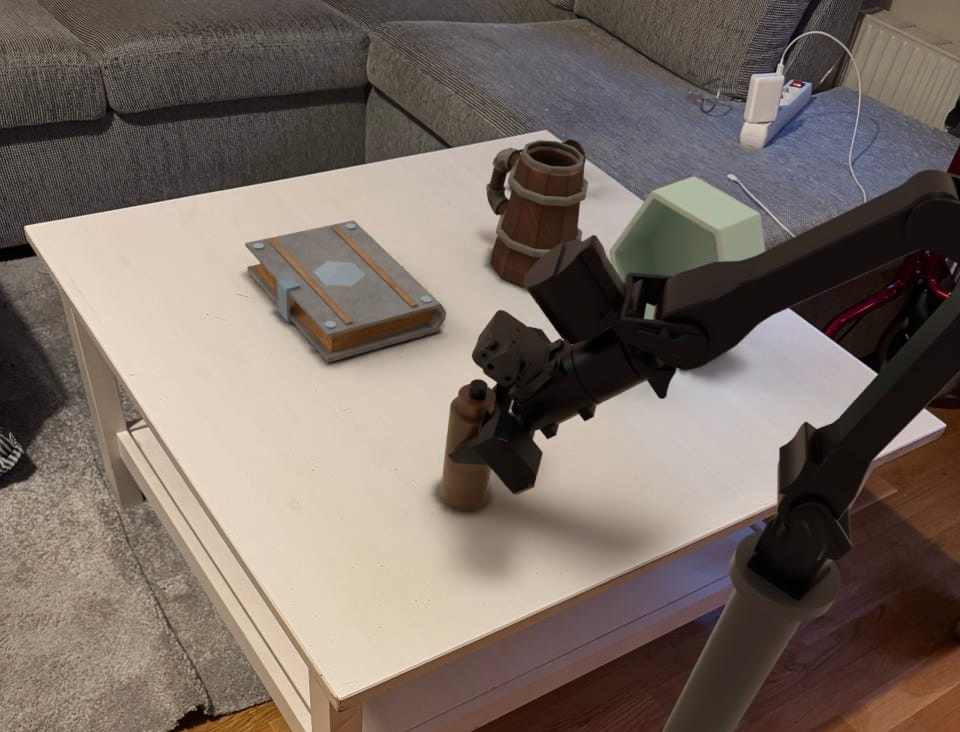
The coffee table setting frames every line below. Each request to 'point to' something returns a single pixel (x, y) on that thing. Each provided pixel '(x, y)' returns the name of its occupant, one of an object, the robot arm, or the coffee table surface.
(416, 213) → the coffee table surface
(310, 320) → the book
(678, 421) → the coffee table surface
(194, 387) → the coffee table surface
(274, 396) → the coffee table surface
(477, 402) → the pepper mill
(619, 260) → the planter
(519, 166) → the mug
